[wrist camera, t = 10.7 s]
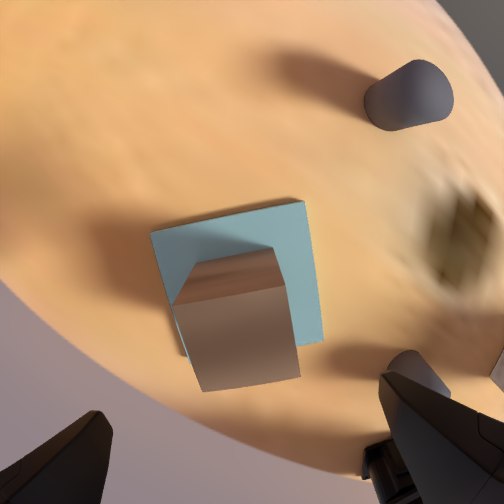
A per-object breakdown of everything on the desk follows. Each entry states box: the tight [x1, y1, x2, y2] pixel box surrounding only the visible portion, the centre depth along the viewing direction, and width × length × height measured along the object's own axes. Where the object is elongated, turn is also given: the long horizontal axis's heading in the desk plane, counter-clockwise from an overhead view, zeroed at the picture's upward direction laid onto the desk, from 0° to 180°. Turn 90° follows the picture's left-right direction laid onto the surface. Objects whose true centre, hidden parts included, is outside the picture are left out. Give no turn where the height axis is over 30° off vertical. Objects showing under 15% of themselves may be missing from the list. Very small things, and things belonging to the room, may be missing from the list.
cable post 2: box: [387, 350, 451, 398], centre depth 18 cm, size 3×3×5 cm
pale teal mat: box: [150, 201, 324, 364], centre depth 18 cm, size 9×9×1 cm
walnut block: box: [172, 247, 301, 392], centre depth 15 cm, size 4×4×6 cm
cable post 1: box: [364, 60, 454, 131], centre depth 13 cm, size 3×3×5 cm
